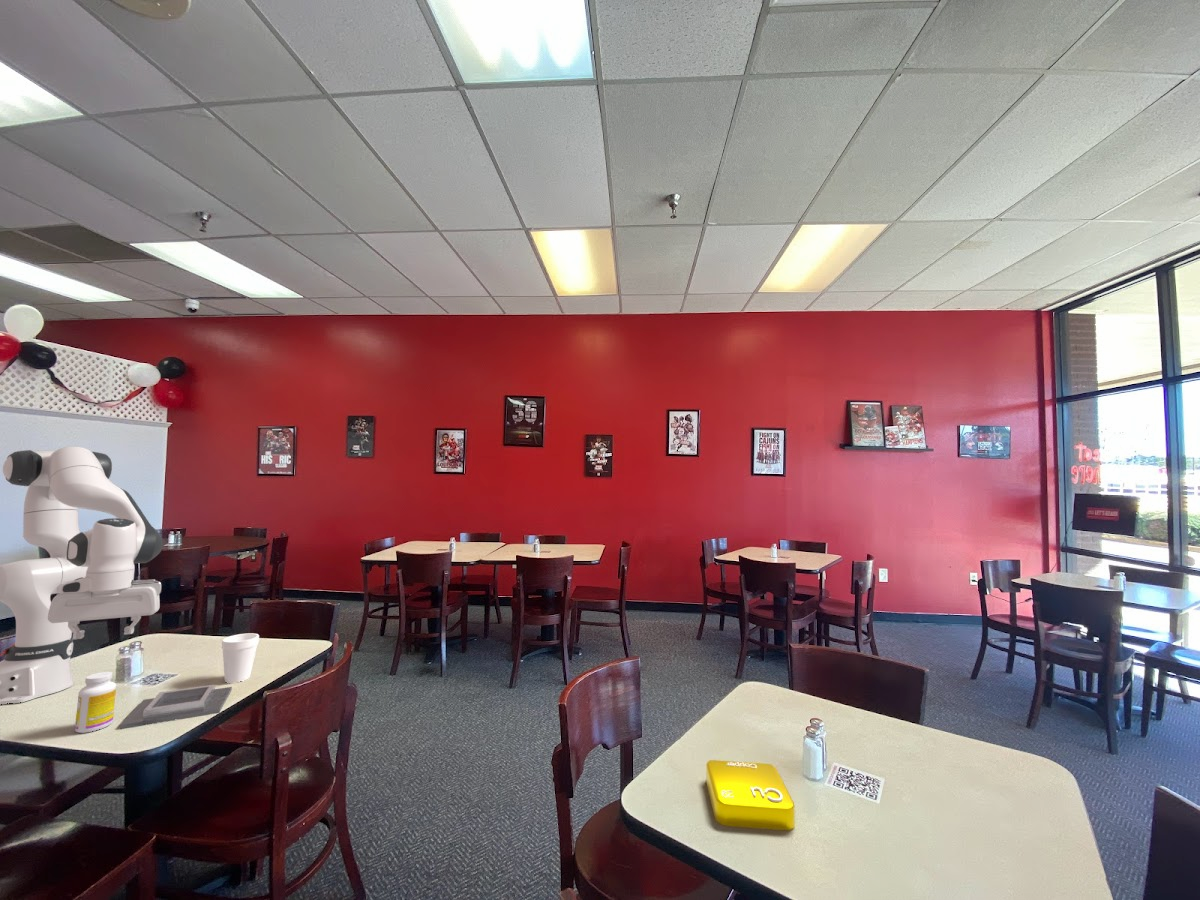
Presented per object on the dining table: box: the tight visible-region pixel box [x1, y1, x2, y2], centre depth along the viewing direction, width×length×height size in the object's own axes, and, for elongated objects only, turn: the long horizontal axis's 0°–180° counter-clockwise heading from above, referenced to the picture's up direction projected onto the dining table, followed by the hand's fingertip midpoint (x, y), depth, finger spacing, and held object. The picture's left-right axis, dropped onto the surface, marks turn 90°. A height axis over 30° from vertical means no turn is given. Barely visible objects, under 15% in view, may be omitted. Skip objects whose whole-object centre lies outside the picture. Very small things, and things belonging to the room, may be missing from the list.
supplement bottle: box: [74, 671, 117, 734], centre depth 120 cm, size 7×7×13 cm
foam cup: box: [221, 632, 260, 684], centre depth 150 cm, size 10×9×13 cm
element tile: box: [705, 759, 796, 831], centre depth 95 cm, size 15×15×5 cm
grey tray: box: [119, 684, 233, 730], centre depth 130 cm, size 20×16×3 cm
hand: (104, 636), depth 121 cm, fingers open, 8 cm apart
